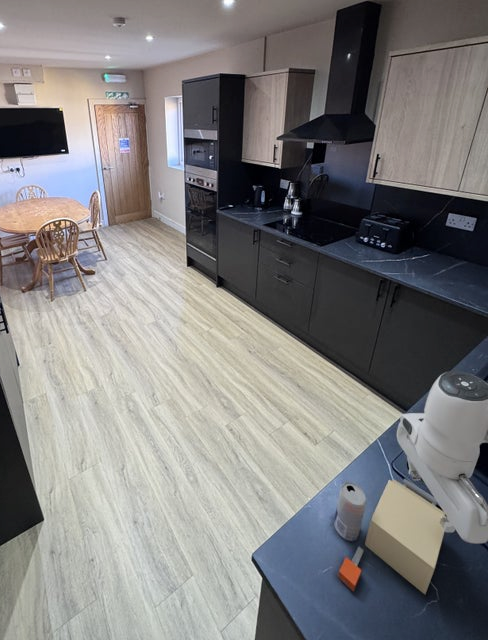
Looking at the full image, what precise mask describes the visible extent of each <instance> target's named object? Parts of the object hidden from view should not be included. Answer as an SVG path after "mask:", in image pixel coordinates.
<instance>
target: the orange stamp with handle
mask: <svg viewBox="0 0 488 640" xmlns="http://www.w3.org/2000/svg"><path fill="white" fill-rule="evenodd" d="M364 552H365V551H364V549H363V548H361V547H360V546H357V548H356V551H355V553H354V554H353V557H352V559H350V558H349V557H348V556H345V558H344V559H343V563H342V565H341V567H340V568H339V571H338V575H337V578H338V579H340V580H341V581H342V582H343V583H344V584H345V585H346V586H347V587H348V588H349V589H350V590H351V591H352V592H355V589H356V587H357V584H358V583H359V580H360V578H361V575H362V569H361V568H360V567H359V564H360V562H361V560H362V558H363V555H364Z"/></svg>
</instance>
